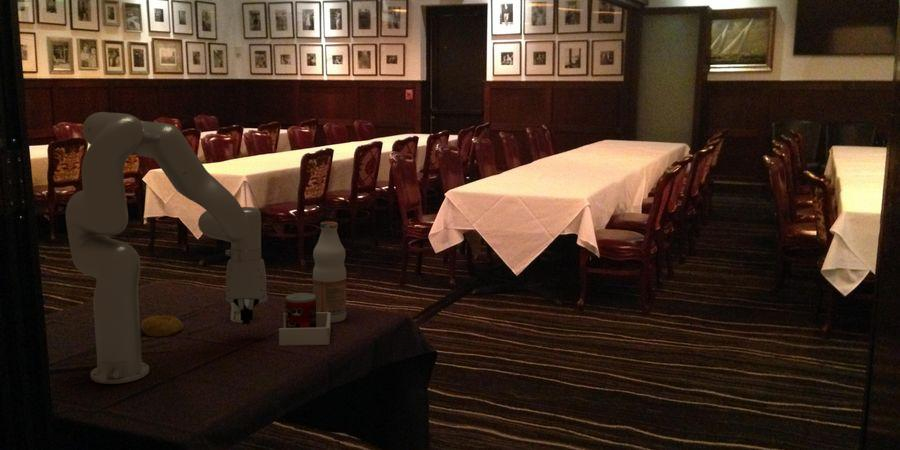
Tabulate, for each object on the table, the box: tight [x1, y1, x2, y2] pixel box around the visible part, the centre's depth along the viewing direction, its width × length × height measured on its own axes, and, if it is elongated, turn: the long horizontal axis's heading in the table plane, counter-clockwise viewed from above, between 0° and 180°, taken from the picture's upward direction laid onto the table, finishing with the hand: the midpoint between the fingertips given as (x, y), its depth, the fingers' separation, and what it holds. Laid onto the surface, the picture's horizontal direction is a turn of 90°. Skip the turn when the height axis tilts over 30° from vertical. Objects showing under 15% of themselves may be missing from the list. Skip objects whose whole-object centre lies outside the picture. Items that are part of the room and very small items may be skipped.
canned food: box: [284, 292, 316, 328], centre depth 218 cm, size 8×8×11 cm
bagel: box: [140, 315, 185, 338], centre depth 221 cm, size 10×11×5 cm
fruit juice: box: [312, 221, 347, 324], centre depth 233 cm, size 9×9×28 cm
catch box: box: [278, 312, 332, 347], centre depth 219 cm, size 15×13×4 cm
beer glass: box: [230, 299, 249, 323], centre depth 232 cm, size 7×7×15 cm
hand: (246, 322), depth 216 cm, fingers closed
